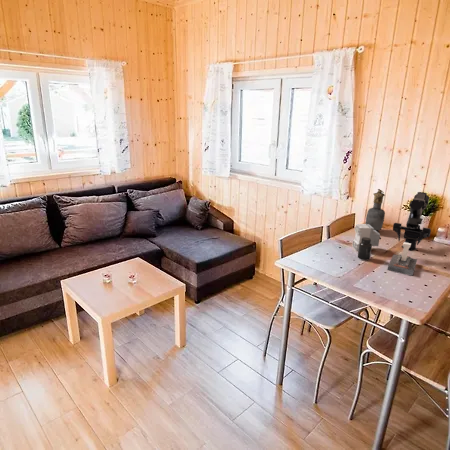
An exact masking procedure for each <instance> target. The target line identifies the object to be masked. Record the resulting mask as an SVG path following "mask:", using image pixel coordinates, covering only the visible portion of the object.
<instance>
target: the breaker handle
mask: <svg viewBox="0 0 450 450" xmlns="http://www.w3.org/2000/svg"><path fill="white" fill-rule="evenodd" d="M402 246H403V247H404V248H403V247H402V248H403V249H402V253H401V256H402V258H401V260H402V261H406V260H407V257H408V254H409V251H410V250H409V248H410V246H411V243H406V242H405V241H404V242H403V244H402Z"/></svg>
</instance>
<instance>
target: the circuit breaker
mask: <svg viewBox="0 0 450 450" xmlns="http://www.w3.org/2000/svg"><path fill="white" fill-rule="evenodd" d="M354 232H355V236H354V239H353V240H352V246H351V247H352V248H353V250H354V251H355V252H358V249H359V243H360V242H362V241H361V240H362V238H363V237H367V238H370V239H371V244H372V247H379V244H380V240H381V239H382V238H381V234H380V232H377V231H376V230H374V228H373V227H372V226H370V225H369V224H365V223H356V224H355V226H354Z"/></svg>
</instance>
